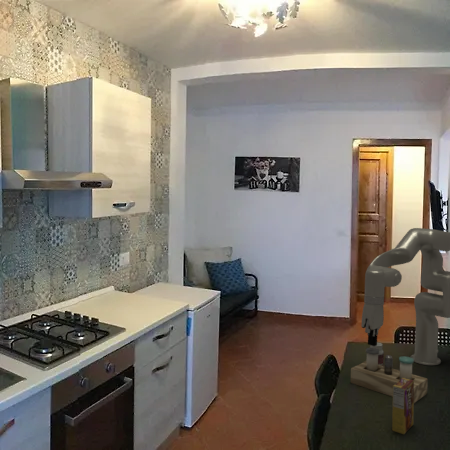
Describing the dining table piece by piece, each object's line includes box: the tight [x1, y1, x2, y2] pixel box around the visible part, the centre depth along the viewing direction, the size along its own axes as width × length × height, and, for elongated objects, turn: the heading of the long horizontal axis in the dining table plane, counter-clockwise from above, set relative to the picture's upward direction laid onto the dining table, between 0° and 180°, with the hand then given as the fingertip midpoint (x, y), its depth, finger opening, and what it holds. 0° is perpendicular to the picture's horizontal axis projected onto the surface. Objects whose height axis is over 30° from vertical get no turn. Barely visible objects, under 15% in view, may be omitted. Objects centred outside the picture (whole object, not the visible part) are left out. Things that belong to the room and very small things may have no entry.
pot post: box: [384, 354, 394, 375], centre depth 189 cm, size 3×3×7 cm
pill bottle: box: [369, 341, 385, 366], centre depth 209 cm, size 6×6×11 cm
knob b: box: [398, 355, 415, 380], centre depth 184 cm, size 5×5×8 cm
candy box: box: [391, 378, 415, 435], centre depth 158 cm, size 9×4×15 cm, turn 140°
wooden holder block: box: [350, 360, 428, 404], centre depth 190 cm, size 12×26×6 cm, turn 45°
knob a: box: [365, 347, 379, 371], centre depth 194 cm, size 5×5×8 cm
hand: (372, 344), depth 193 cm, fingers closed
